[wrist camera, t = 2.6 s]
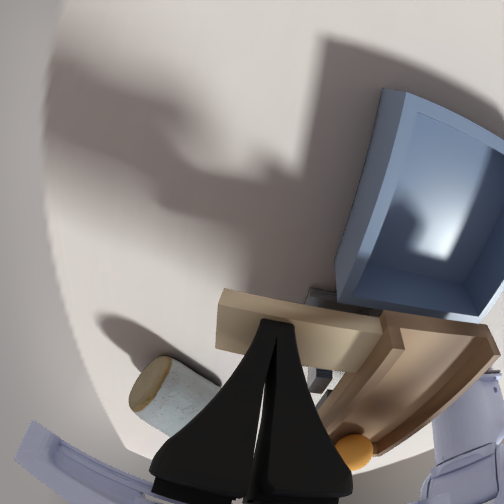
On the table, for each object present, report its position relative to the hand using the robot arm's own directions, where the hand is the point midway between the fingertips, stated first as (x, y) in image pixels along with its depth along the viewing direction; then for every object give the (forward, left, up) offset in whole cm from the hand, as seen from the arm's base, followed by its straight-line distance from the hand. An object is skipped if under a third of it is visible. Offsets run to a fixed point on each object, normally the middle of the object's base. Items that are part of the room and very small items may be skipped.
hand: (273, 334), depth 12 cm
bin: (-8, -5, -6) cm, 11 cm away
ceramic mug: (+7, +19, -7) cm, 21 cm away
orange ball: (-8, +10, +2) cm, 13 cm away
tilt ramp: (-5, +5, -3) cm, 8 cm away
